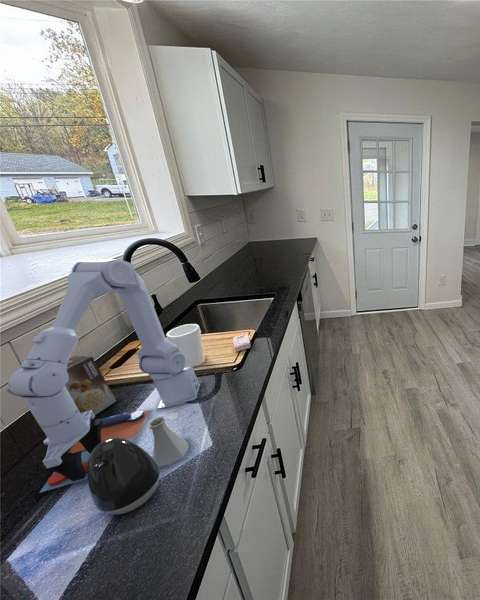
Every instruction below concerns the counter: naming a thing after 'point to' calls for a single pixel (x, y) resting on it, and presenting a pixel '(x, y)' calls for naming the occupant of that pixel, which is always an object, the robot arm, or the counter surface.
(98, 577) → the counter surface
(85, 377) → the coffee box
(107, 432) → the terracotta mat
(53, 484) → the red spoon
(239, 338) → the soap bar
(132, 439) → the blue mat
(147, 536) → the counter surface
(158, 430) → the flask
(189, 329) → the foam cup
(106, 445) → the black rounded cone
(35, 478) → the counter surface
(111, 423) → the blue spoon
